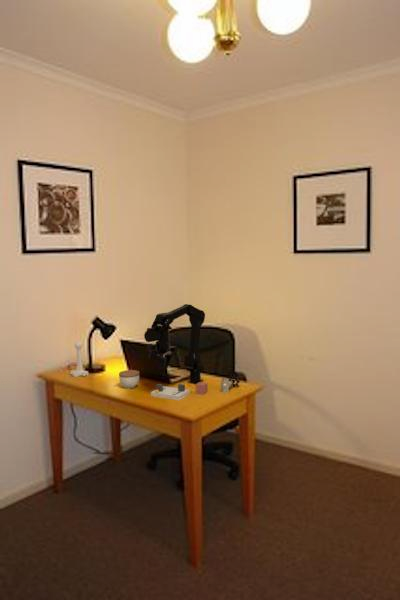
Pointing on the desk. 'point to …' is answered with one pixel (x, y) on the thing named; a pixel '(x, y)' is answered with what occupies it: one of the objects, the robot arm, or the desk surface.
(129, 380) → the lidded jar
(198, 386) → the block
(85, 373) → the joystick
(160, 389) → the lever tagged
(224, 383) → the valve
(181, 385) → the lever
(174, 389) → the panel
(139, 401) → the desk surface
